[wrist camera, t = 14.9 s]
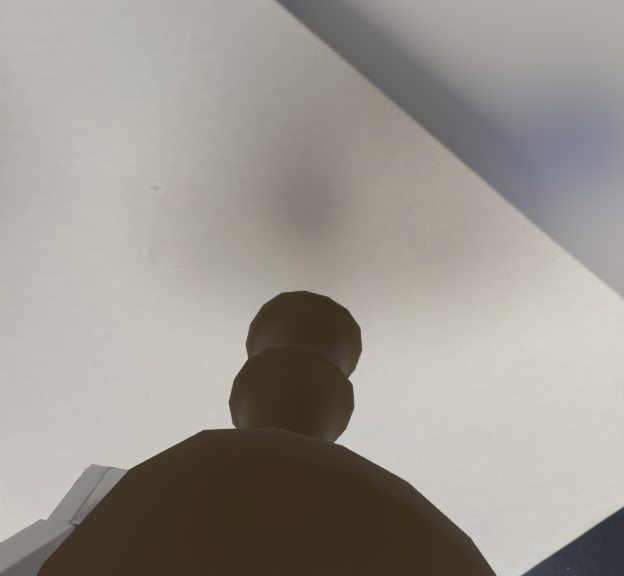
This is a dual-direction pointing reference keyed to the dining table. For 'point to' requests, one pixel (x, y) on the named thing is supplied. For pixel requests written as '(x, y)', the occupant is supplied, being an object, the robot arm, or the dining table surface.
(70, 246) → the dining table surface
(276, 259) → the dining table surface
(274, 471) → the kendama
